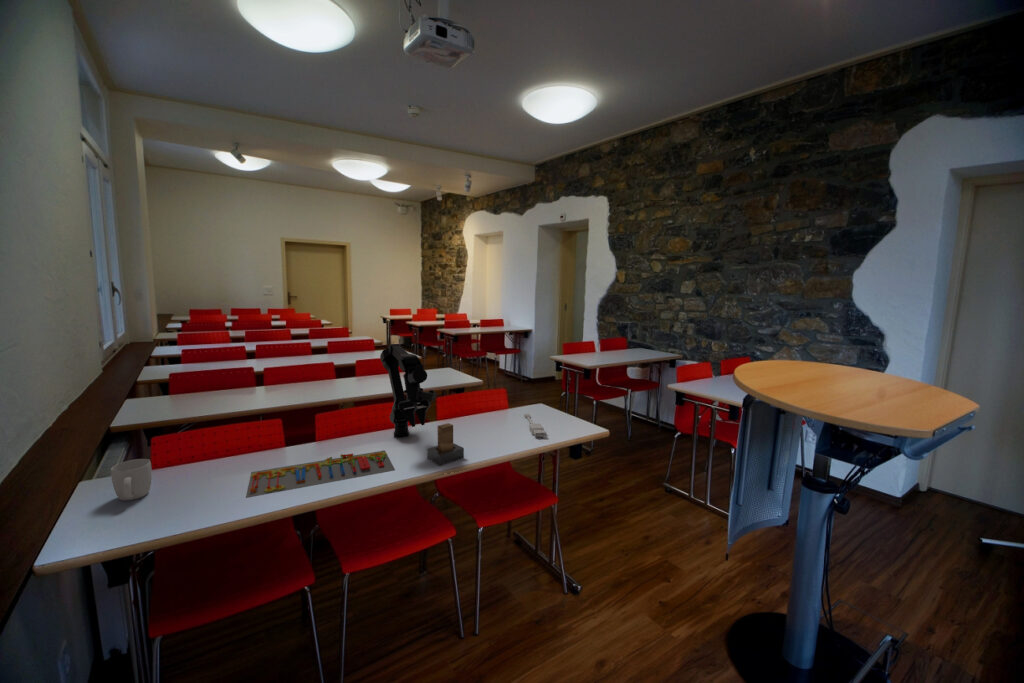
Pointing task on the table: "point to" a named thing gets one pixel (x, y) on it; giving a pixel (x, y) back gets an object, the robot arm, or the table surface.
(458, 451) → the grey block holder
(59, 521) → the table surface
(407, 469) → the table surface
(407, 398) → the robot arm
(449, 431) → the brown wooden block
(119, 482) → the mug
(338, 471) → the gear board
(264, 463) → the table surface
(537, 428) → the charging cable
